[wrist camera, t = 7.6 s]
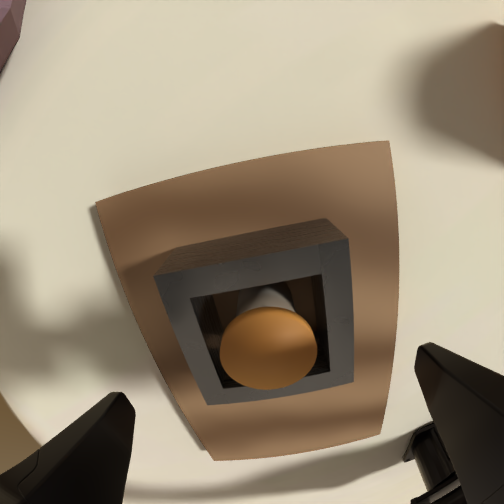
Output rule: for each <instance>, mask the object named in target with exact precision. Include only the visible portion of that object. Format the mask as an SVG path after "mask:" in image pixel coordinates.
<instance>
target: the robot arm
mask: <svg viewBox="0 0 504 504" xmlns="http://www.w3.org/2000/svg"><path fill="white" fill-rule="evenodd" d="M414 369H415V374H416V376H417V379H418V382H419V384H420V387H421V390H422V393H423V395H424V398H425V401H426V404H427V407H428V410H429V412H430V414H431V417H432V419H433V421H434V424H431V425H429V426H427V427H424V428H422V429H420V430H417V431H416V432H415V433H414V434H413V437H412V439H411V442H410V444H409V446H408V449H407V451H406V453H405V456H404V458H403V461H404V462H408V461H411V460H413V459H415V461H416V463H417V466H418V468H419V471H420V473H421V476H422V478H423V481H424V483H425V486H426V489H427V491H428V492H426V493H424V494H423V495H421V496H419V497H416V498H414V499H412V500H411V504H504V376H503V375H501V374H499V373H496V372H494V371H492V370H490V369H488V368H486V367H483V366H481V365H479V364H477V363H475V362H473V361H471V360H468V359H466V358H464V357H462V356H460V355H458V354H456V353H453V352H451V351H449V350H447V349H445V348H443V347H441V346H438V345H436V344H434V343H432V342H429V343H426V344H423V345H420V346H419V347H418V350H417V355H416V360H415V366H414ZM135 416H136V414H135V409H134V407H133V406H132V404H131V403H130V401H129V400H128V398H127V397H126V395H125V394H124V393H122V392H111V393H109V394H108V395H107V396H106V397H104V398H103V399H102V400H101V401H99V402H98V403H97V404H96V405H94V406H93V407H92V408H91V409H89V410H88V411H87V412H86V413H84V414H83V415H82V416H81V417H79V418H78V419H77V420H75V421H74V422H73V423H72V424H70V425H69V426H68V427H67V428H65V429H64V430H63V431H61V432H60V433H59V434H58V435H56V436H55V437H54V438H52V439H51V440H50V441H49V442H47V443H46V444H45V445H43V446H42V447H41V448H40V449H38V450H37V451H36V452H34V453H33V454H32V455H30V456H29V457H27V458H26V459H25V460H23V461H22V462H20V463H19V464H17V465H16V466H14V467H12V468H11V469H9V470H7V471H6V472H4V473H2V474H1V475H0V504H122V502H123V496H124V490H125V484H126V479H127V473H128V468H129V463H130V458H131V452H132V444H133V433H134V424H135ZM459 485H460V486H459ZM456 487H457V488H456ZM453 489H454V490H453ZM451 490H452V491H451ZM448 492H449V493H448ZM445 494H446V495H445ZM443 495H444V496H443ZM440 497H441V498H440ZM438 498H439V499H438ZM436 499H437V500H436ZM433 501H434V502H433ZM431 502H432V503H431Z"/></svg>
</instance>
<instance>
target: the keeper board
mask: <svg viewBox="0 0 504 504" xmlns="http://www.w3.org/2000/svg"><path fill="white" fill-rule="evenodd" d="M95 203H96V207H97V210H98V214H99V217H100V221H101V224H102V228H103V231H104V234H105V237H106V241H107V244H108V247H109V250H110V253H111V256H112V259H113V262H114V265H115V267H116V270H117V273H118V276H119V278H120V281H121V284H122V286H123V289H124V292H125V294H126V297H127V299H128V302H129V304H130V307H131V309H132V311H133V314H134V316H135V318H136V321H137V323H138V325H139V328H140V330H141V332H142V334H143V337H144V339H145V341H146V343H147V345H148V347H149V349H150V351H151V354H152V356H153V358H154V360H155V362H156V364H157V366H158V368H159V370H160V372H161V374H162V375H163V377H164V379H165V381H166V383H167V385H168V387H169V389H170V390H171V392H172V394H173V396H174V398H175V399H176V401H177V403H178V405H179V406H180V408H181V410H182V412H183V413H184V415H185V417H186V418H187V420H188V422H189V423H190V425H191V427H192V428H193V430H194V431H195V433H196V434H197V436H198V438H199V439H200V441H201V442H202V444H203V445H204V447H205V448H206V450H207V451H208V453H209V454H210V456H211V457H212V459H213V460H214V461H223V460H244V459H257V458H267V457H276V456H284V455H291V454H297V453H303V452H309V451H314V450H320V449H325V448H329V447H334V446H338V445H342V444H346V443H350V442H354V441H358V440H361V439H365V438H368V437H372V436H375V435H378V434H380V432H381V428H382V424H383V419H384V414H385V409H386V404H387V399H388V393H389V387H390V381H391V374H392V367H393V359H394V351H395V341H396V330H397V317H398V299H399V233H398V214H397V201H396V190H395V180H394V172H393V164H392V157H391V150H390V143H389V141H376V142H365V143H356V144H347V145H339V146H331V147H324V148H316V149H310V150H303V151H297V152H291V153H285V154H279V155H274V156H268V157H263V158H258V159H253V160H248V161H243V162H238V163H233V164H229V165H224V166H220V167H215V168H211V169H207V170H203V171H199V172H195V173H191V174H187V175H183V176H179V177H175V178H172V179H168V180H164V181H161V182H157V183H154V184H150V185H147V186H144V187H140V188H137V189H134V190H130V191H127V192H124V193H121V194H118V195H115V196H112V197H109V198H106V199H103V200H100V201H97V202H95ZM322 218H327V219H328V220H329V221H330V222H331V223H332V224H333V225H335V226H336V227H337V228H338V229H339V230H340V231H341V232H342V233H343V234H344V235H345V236H346V237H347V238H348V239H349V249H350V261H351V274H352V290H353V312H354V382H352V383H348V384H344V385H340V386H336V387H331V388H327V389H322V390H318V391H313V392H308V393H303V394H297V395H292V396H286V397H280V398H273V399H266V400H259V401H251V402H242V403H232V404H220V405H207V404H206V402H205V400H204V398H203V396H202V394H201V392H200V390H199V387H198V385H197V383H196V381H195V379H194V377H193V375H192V372H191V370H190V368H189V366H188V363H187V361H186V359H185V357H184V354H183V352H182V350H181V347H180V345H179V342H178V340H177V338H176V335H175V333H174V330H173V328H172V325H171V323H170V320H169V318H168V315H167V313H166V310H165V307H164V305H163V302H162V299H161V296H160V294H159V291H158V288H157V285H156V283H155V280H154V277H153V276H154V274H155V273H156V272H157V270H158V269H159V268H160V267H161V265H162V264H163V263H164V262H165V260H166V259H167V258H168V257H169V255H170V254H171V253H172V252H173V250H174V249H175V248H176V247H181V246H186V245H190V244H195V243H200V242H205V241H209V240H214V239H219V238H224V237H229V236H234V235H239V234H244V233H249V232H254V231H259V230H264V229H269V228H274V227H280V226H285V225H290V224H295V223H301V222H306V221H311V220H317V219H322ZM212 295H213V298H214V302H215V305H216V308H217V311H218V315H219V318H220V321H221V324H222V328H223V331H224V333H223V336H222V341H221V347H220V361H221V364H222V366H223V368H224V370H225V371H226V373H227V374H228V375H229V376H230V377H231V378H232V379H233V380H235V381H236V382H238V383H240V384H242V385H244V386H247V387H250V388H254V389H262V390H271V389H278V388H283V387H286V386H289V385H291V384H294V383H295V382H297V381H299V380H300V379H302V378H303V377H304V376H305V375H307V373H308V372H309V371H310V370H311V369H312V367H313V365H314V363H315V361H316V358H317V345H316V341H315V338H314V334H313V331H317V324H316V315H315V306H314V298H313V290H312V283H311V276H308V277H303V278H298V279H293V280H288V281H283V282H277V283H272V284H267V285H261V286H256V287H251V288H245V289H240V290H234V291H228V292H222V293H217V294H212Z"/></svg>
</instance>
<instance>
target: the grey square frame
mask: <svg viewBox="0 0 504 504" xmlns="http://www.w3.org/2000/svg"><path fill="white" fill-rule="evenodd" d="M308 276H311V283H312V290H313V298H314V306H315V315H316V324H317V331H313V334H314V338H315V341H316V345H317V358H316V361H315V363H314V365H313V367H312V369H311V370H310V371H309V372H308V373H307V375H305V376H304V377H303V378H302V379H300V380H299V381H297V382H295V383H294V384H291V385H289V386H286V387H283V388H278V389H271V390H262V389H254V388H250V387H247V386H244V385H242V384H240V383H238V382H236V381H235V380H233V379H232V378H231V377H230V376H229V375H228V374H227V373H226V371H225V370H224V368H223V366H222V364H221V361H220V347H221V341H222V336H223V333H224V331H223V328H222V324H221V321H220V318H219V315H218V311H217V308H216V305H215V302H214V298H213V295H212V294H217V293H222V292H228V291H234V290H240V289H245V288H251V287H256V286H261V285H267V284H272V283H277V282H283V281H288V280H293V279H298V278H303V277H308ZM153 277H154V280H155V283H156V285H157V288H158V291H159V294H160V296H161V299H162V302H163V305H164V307H165V310H166V313H167V315H168V318H169V320H170V323H171V325H172V328H173V330H174V333H175V335H176V338H177V340H178V342H179V345H180V347H181V350H182V352H183V354H184V357H185V359H186V361H187V363H188V366H189V368H190V370H191V372H192V375H193V377H194V379H195V381H196V383H197V385H198V387H199V390H200V392H201V394H202V396H203V398H204V400H205V402H206V404H207V405H220V404H232V403H242V402H251V401H259V400H266V399H273V398H280V397H286V396H292V395H297V394H303V393H308V392H313V391H318V390H322V389H327V388H331V387H336V386H340V385H344V384H348V383H352V382H354V312H353V290H352V274H351V261H350V249H349V239H348V238H347V237H346V236H345V235H344V234H343V233H342V232H341V231H340V230H339V229H338V228H337V227H336V226H335V225H333V224H332V223H331V222H330V221H329V220H328V219H327V218H322V219H317V220H311V221H306V222H301V223H295V224H290V225H285V226H280V227H274V228H269V229H264V230H259V231H254V232H249V233H244V234H239V235H234V236H229V237H224V238H219V239H214V240H209V241H205V242H200V243H195V244H190V245H186V246H181V247H176V248H175V249H174V250H173V252H172V253H171V254H170V255H169V257H168V258H167V259H166V260H165V262H164V263H163V264H162V265H161V267H160V268H159V269H158V270H157V272H156V273H155V274H154V276H153Z"/></svg>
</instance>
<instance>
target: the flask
mask: <svg viewBox="0 0 504 504" xmlns="http://www.w3.org/2000/svg"><path fill="white" fill-rule="evenodd" d="M25 4H26V0H0V72H1V70H2V68H3V66H4V64H5V62H6V60H7V59H8V57H9V55H10V53H11V51H12V49H13V48H14V46H15V44H16V43H17V41H18V39H19V37H20V32H21V26H22V20H23V14H24V9H25Z"/></svg>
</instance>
